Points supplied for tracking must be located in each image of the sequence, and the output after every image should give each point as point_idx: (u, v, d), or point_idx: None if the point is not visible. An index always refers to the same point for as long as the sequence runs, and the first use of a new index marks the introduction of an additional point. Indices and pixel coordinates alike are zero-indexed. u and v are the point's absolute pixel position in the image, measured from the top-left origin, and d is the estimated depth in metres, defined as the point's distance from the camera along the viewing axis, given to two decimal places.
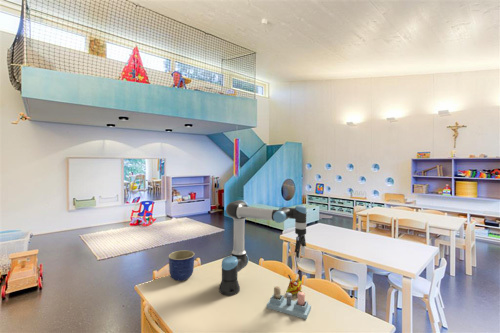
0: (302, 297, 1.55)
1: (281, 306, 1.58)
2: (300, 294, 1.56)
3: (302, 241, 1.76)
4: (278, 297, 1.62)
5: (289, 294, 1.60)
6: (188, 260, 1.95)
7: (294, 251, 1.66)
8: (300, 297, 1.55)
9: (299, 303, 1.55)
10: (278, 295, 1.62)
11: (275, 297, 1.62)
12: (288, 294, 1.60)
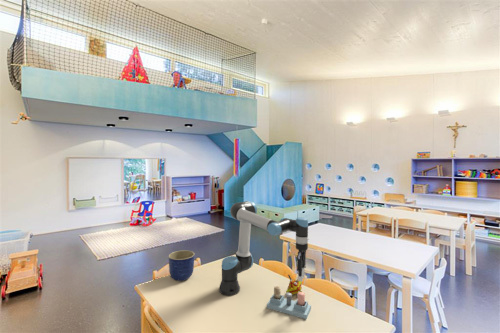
0: (302, 297, 1.55)
1: (281, 306, 1.58)
2: (300, 294, 1.56)
3: (302, 259, 1.58)
4: (278, 297, 1.62)
5: (289, 294, 1.60)
6: (188, 260, 1.95)
7: None
8: (300, 297, 1.55)
9: (299, 303, 1.55)
10: (278, 295, 1.62)
11: (275, 297, 1.62)
12: (288, 294, 1.60)
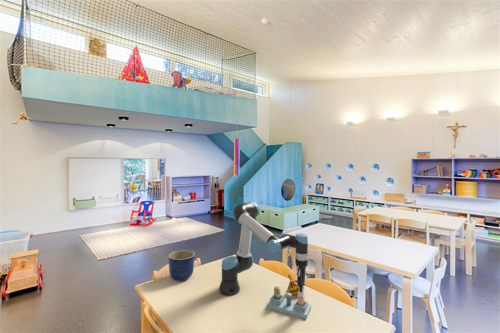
0: (302, 300, 1.55)
1: (281, 306, 1.58)
2: (300, 297, 1.56)
3: None
4: (278, 297, 1.62)
5: (289, 294, 1.60)
6: (188, 260, 1.95)
7: None
8: (300, 300, 1.55)
9: None
10: (278, 295, 1.62)
11: (275, 297, 1.62)
12: (288, 294, 1.60)
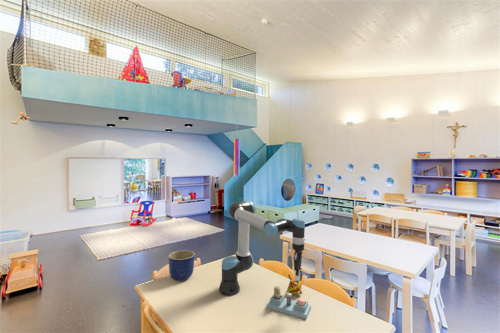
0: (302, 303, 1.55)
1: (281, 306, 1.58)
2: (300, 300, 1.56)
3: None
4: (278, 297, 1.62)
5: (289, 294, 1.60)
6: (188, 260, 1.95)
7: (294, 269, 1.57)
8: (300, 303, 1.55)
9: None
10: (278, 295, 1.62)
11: (275, 297, 1.62)
12: (288, 294, 1.60)
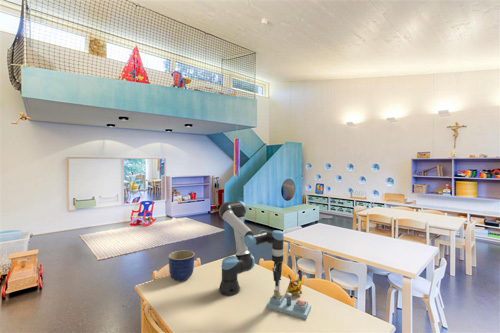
0: (302, 303, 1.55)
1: (281, 306, 1.58)
2: (300, 300, 1.56)
3: None
4: (278, 299, 1.62)
5: (289, 294, 1.60)
6: (188, 260, 1.95)
7: None
8: (300, 303, 1.55)
9: None
10: (278, 297, 1.62)
11: None
12: (288, 294, 1.60)
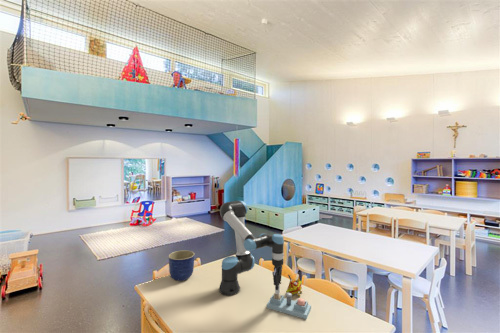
0: (302, 303, 1.55)
1: (281, 306, 1.58)
2: (300, 300, 1.56)
3: None
4: None
5: (289, 294, 1.60)
6: (188, 260, 1.95)
7: None
8: (300, 303, 1.55)
9: None
10: None
11: None
12: (288, 294, 1.60)
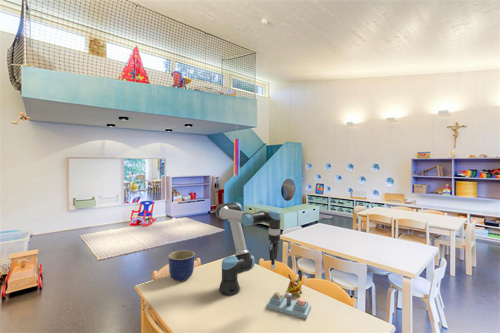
0: (302, 303, 1.55)
1: (281, 306, 1.58)
2: (300, 300, 1.56)
3: None
4: None
5: (289, 294, 1.60)
6: (188, 260, 1.95)
7: None
8: (300, 303, 1.55)
9: None
10: None
11: None
12: (288, 294, 1.60)
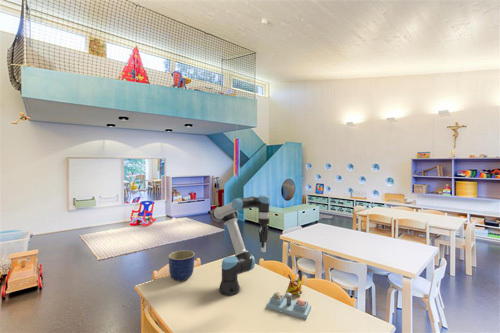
0: (302, 303, 1.55)
1: (281, 306, 1.58)
2: (300, 300, 1.56)
3: None
4: None
5: (289, 294, 1.60)
6: (188, 260, 1.95)
7: None
8: (300, 303, 1.55)
9: None
10: None
11: None
12: (288, 294, 1.60)
